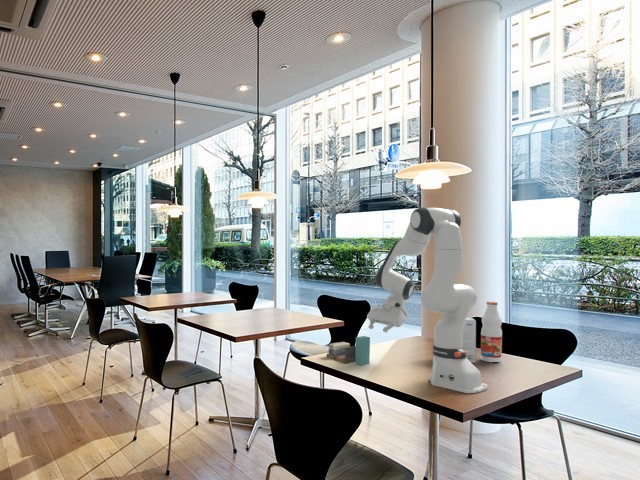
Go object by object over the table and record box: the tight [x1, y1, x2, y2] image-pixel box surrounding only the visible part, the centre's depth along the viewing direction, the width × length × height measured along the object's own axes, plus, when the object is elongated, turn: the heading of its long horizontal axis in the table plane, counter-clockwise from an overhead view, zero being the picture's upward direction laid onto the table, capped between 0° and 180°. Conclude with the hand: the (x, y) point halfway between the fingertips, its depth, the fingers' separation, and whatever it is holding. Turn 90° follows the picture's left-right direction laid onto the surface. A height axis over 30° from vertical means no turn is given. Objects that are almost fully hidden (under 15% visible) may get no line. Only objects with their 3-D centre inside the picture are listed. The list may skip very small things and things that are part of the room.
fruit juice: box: [480, 300, 503, 363], centre depth 220 cm, size 9×9×28 cm
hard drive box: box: [439, 317, 477, 364], centre depth 218 cm, size 16×8×20 cm, turn 84°
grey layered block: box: [326, 341, 356, 364], centre depth 218 cm, size 14×12×6 cm
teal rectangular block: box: [354, 335, 371, 366], centre depth 209 cm, size 4×5×12 cm
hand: (377, 329), depth 215 cm, fingers open, 8 cm apart
